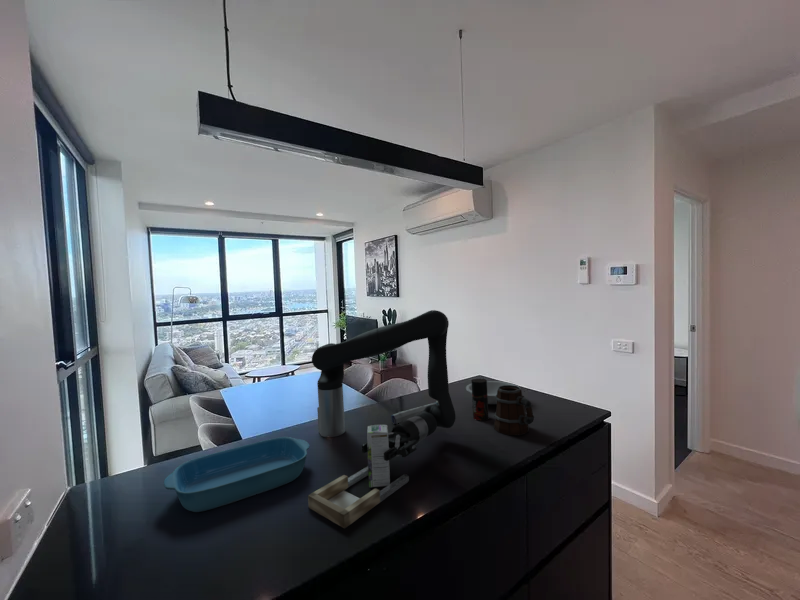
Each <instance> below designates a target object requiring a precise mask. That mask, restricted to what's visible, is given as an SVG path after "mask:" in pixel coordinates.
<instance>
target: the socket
mask: <svg viewBox="0 0 800 600" xmlns="http://www.w3.org/2000/svg"><path fill="white" fill-rule="evenodd" d="M348 478H349V477H348V475H345V474H343V475H340V476H339V477H337V478H336V479H334V480H332V481H331V482H329V483H327V484H325V485H323V486H322V487H320V488H319V489H317V490H315V491H313V492H311V493H309V494H308V495H307V499H308V500H307V502H308V503H307V504H308V509H310V510H312V511H313V512H315V513H317V514H318V515H320V516H322V517H324V518H326V519H328V520H329V521H331V522H332V523H333V524H336V525H337V526H339V527H341V528H342V529H346V528H348V527H349V526H350V525H352V524H353V523H354V522H356V521H357V520H358V519H359V518H361V517H362V516H364V515H365V514H366V513H368V512H369V511H370V510H372V509H373V508H374V507H376V506H377V505H379V504H380V503H381V502H380V491H381V490H380V489H378V488H377V487H374V488H373V489H372V490H370V491H369V492H367V493H366V494H365V495H363V496H362V497H358V496H356V495H354V494H352V493H350V492H348V491H346V490H347V489H348V488H349V487H348Z"/></svg>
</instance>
